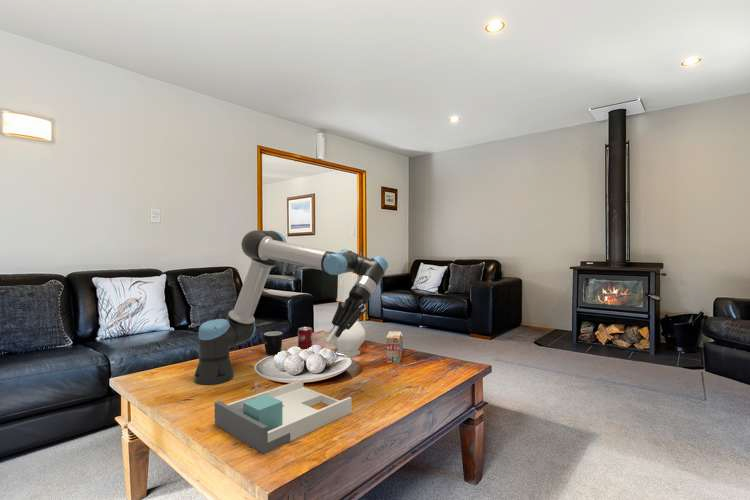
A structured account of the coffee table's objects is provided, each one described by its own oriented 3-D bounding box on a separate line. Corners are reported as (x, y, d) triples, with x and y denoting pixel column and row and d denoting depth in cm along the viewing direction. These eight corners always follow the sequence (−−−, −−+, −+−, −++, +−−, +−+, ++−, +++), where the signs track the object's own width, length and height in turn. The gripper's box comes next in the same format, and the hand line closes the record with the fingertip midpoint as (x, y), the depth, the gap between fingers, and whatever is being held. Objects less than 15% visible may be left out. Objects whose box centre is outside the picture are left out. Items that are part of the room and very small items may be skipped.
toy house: (390, 350, 207) (390, 327, 206) (402, 351, 206) (402, 327, 205) (386, 363, 185) (386, 336, 185) (399, 363, 184) (399, 337, 184)
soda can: (300, 354, 199) (300, 330, 198) (296, 350, 205) (296, 327, 205) (314, 352, 202) (314, 329, 202) (309, 349, 208) (309, 326, 208)
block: (266, 417, 123) (266, 394, 123) (282, 424, 118) (282, 401, 117) (243, 426, 117) (243, 402, 116) (258, 434, 111) (258, 410, 111)
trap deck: (301, 392, 149) (301, 374, 149) (351, 412, 132) (351, 391, 132) (214, 424, 123) (214, 402, 123) (262, 454, 106) (262, 428, 106)
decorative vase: (355, 360, 190) (355, 307, 189) (323, 355, 197) (323, 305, 196) (371, 350, 206) (371, 302, 205) (340, 346, 213) (340, 300, 212)
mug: (263, 351, 203) (263, 332, 203) (281, 350, 206) (281, 330, 206) (264, 358, 192) (264, 337, 191) (283, 356, 194) (283, 336, 194)
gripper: (380, 298, 146) (347, 353, 134) (354, 295, 155) (322, 346, 143) (370, 285, 142) (336, 340, 130) (345, 282, 151) (310, 334, 139)
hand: (329, 343), depth 137 cm, fingers closed
